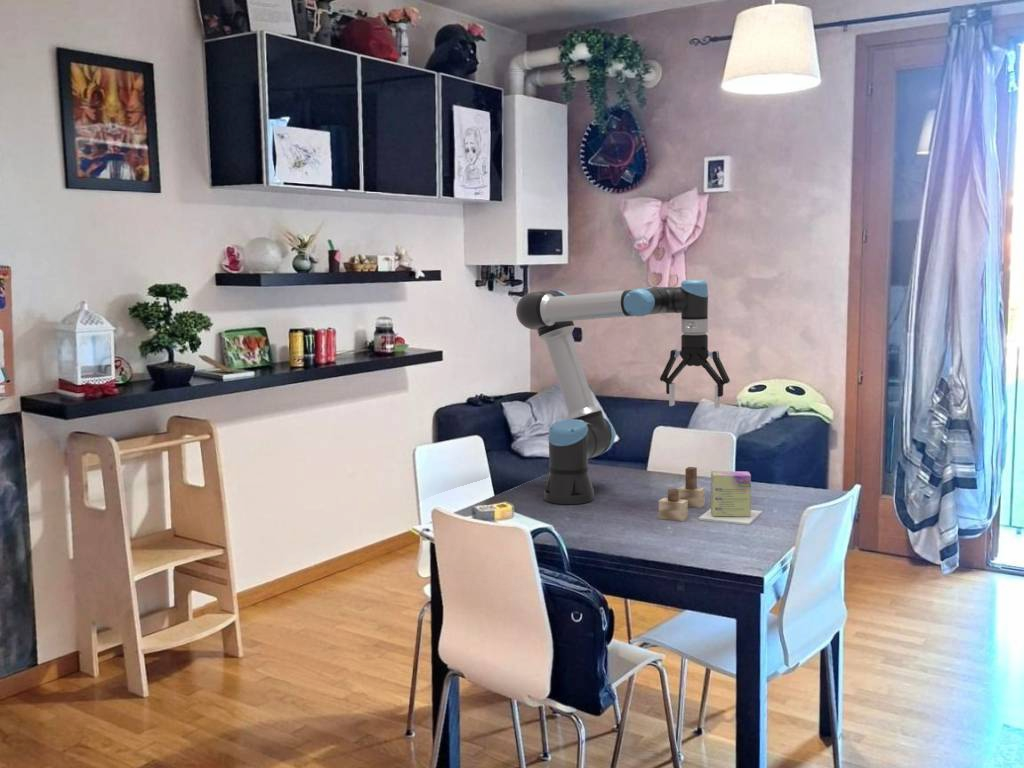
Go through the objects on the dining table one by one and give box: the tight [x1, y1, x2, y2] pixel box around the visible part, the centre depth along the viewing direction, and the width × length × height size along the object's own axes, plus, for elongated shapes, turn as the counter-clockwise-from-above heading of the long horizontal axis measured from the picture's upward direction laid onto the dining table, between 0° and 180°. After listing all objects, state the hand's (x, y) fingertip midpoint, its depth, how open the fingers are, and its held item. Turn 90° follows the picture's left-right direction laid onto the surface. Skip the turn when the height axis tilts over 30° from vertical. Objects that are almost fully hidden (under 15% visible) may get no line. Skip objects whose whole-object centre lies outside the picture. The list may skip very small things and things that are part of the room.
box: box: [710, 470, 752, 517], centre depth 275 cm, size 10×6×12 cm, turn 84°
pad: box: [698, 508, 763, 526], centre depth 276 cm, size 14×14×1 cm
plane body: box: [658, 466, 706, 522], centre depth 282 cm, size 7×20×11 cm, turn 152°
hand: (694, 406), depth 289 cm, fingers open, 13 cm apart
